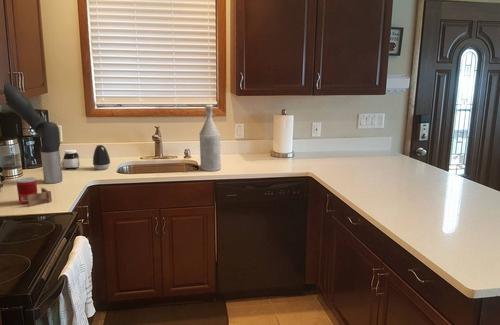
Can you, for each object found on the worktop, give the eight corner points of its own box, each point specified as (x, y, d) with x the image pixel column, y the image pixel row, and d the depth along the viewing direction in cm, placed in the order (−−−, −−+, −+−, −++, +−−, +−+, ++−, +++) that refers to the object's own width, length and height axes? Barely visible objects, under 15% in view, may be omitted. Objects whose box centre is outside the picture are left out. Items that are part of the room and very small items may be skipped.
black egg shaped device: (106, 166, 265) (104, 142, 261) (113, 169, 257) (111, 145, 254) (90, 168, 258) (88, 144, 255) (96, 171, 251) (94, 147, 247)
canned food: (41, 201, 194) (38, 179, 192) (23, 205, 188) (20, 182, 186) (34, 198, 199) (31, 176, 196) (16, 202, 193) (13, 179, 191)
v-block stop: (42, 197, 200) (41, 187, 199) (57, 197, 200) (56, 187, 199) (27, 206, 187) (26, 195, 186) (43, 206, 187) (42, 195, 186)
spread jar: (74, 170, 254) (73, 152, 252) (56, 170, 254) (54, 151, 252) (83, 166, 266) (81, 148, 263) (65, 166, 266) (63, 148, 263)
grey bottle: (218, 164, 268) (217, 103, 259) (222, 171, 251) (221, 105, 243) (198, 165, 265) (196, 103, 256) (202, 172, 248) (200, 106, 240)
